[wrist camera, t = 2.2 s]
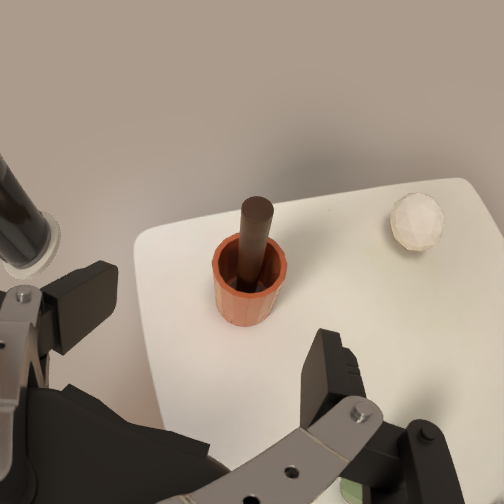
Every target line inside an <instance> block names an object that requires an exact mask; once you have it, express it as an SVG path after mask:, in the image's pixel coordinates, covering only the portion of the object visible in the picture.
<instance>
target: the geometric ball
mask: <svg viewBox="0 0 504 504" xmlns="http://www.w3.org/2000/svg"><path fill="white" fill-rule="evenodd" d="M390 223H391V227H392V231H393V234H394V238H395V239H396V240H397V241H398V242H400V243H401V244H402V245H403V246H404V247H405V248H406V249H407V250H416V251H426V250H427V249H429V248H430V247H431V246H433V245H434V244H436V243H437V242H438V241H439V239H440V237H441V234H442V231H443V227H444V214H443V212H442V210H441V209H440V207H439V206H438V204H437V203H436V202H435V200H433V199H432V198H430V197H428V196H427V195H425V194H421V193H412V194H408V195H406V196H405V197H404V198H402V199H401V200H399V201H398V202H396V203H395V206H394V209H393V212H392V215H391V218H390Z"/></svg>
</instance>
